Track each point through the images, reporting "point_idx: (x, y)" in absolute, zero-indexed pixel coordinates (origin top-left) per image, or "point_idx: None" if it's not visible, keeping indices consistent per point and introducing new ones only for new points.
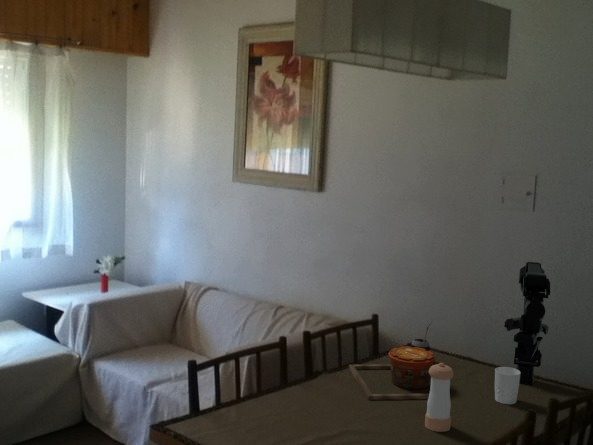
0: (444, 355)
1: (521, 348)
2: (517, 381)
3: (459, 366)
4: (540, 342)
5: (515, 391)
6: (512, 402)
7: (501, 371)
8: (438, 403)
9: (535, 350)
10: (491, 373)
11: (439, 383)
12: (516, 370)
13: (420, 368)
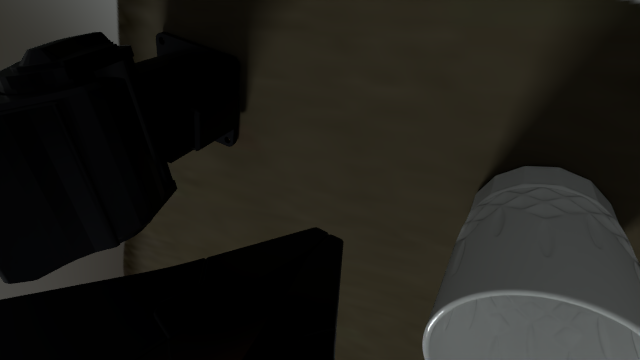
0: None
1: (90, 230)
2: (633, 281)
3: None
4: (44, 296)
5: (614, 232)
6: (607, 200)
7: (449, 351)
8: None
9: (261, 279)
10: (199, 212)
11: None
12: (471, 297)
13: None
